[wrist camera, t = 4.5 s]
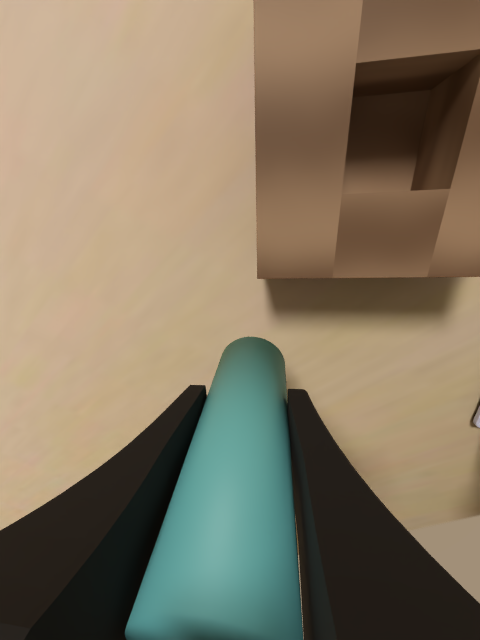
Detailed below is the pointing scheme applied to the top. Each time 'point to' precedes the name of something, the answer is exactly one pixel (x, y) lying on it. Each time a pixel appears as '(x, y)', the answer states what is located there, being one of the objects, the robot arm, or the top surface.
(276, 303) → the top surface
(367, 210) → the socket block
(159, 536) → the peg
